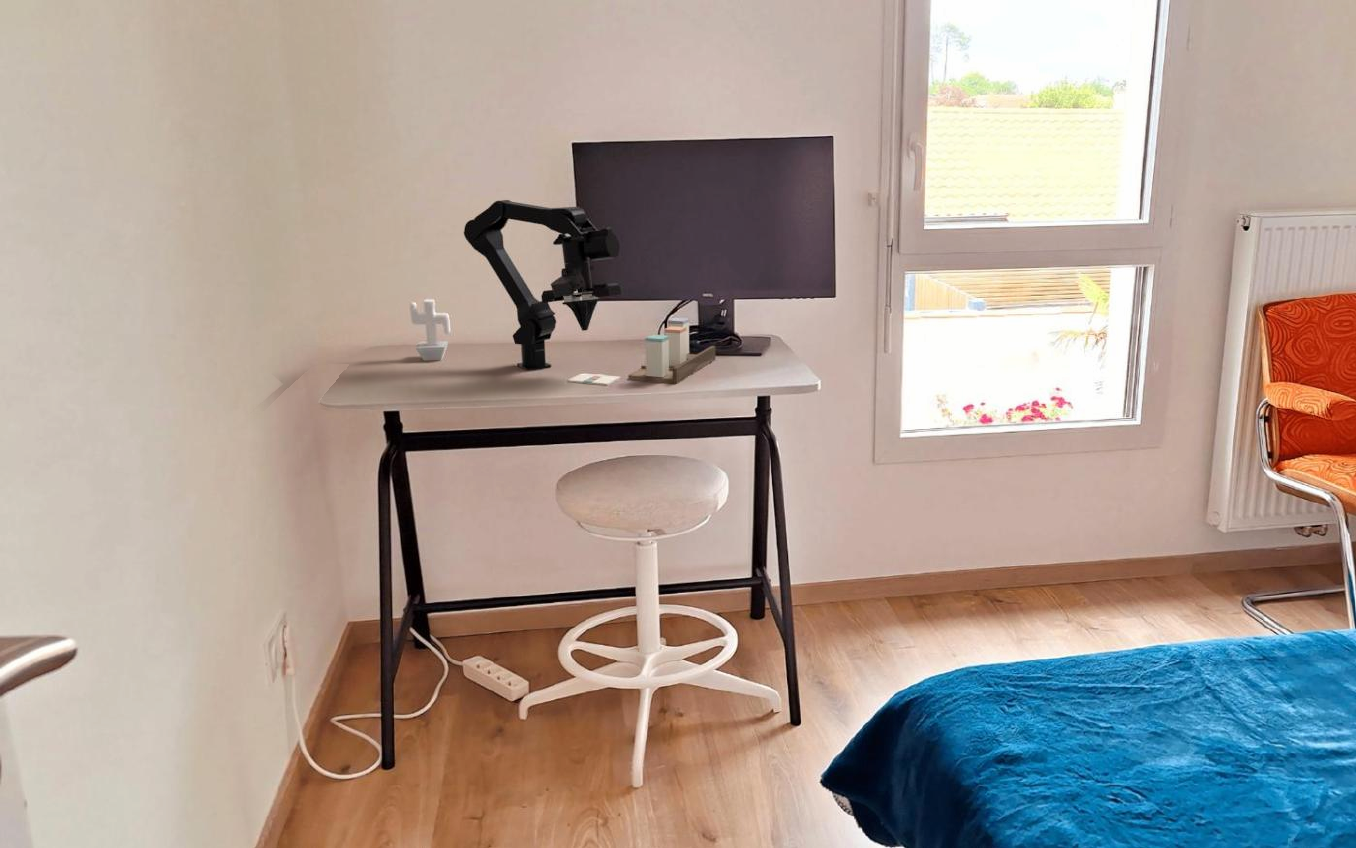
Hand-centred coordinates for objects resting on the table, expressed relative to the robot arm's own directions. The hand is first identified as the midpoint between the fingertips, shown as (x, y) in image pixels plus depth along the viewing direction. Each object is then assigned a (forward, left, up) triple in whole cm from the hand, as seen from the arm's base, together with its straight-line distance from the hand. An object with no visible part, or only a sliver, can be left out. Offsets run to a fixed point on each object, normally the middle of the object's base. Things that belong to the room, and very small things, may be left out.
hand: (584, 330), depth 228 cm
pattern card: (+6, -1, -10) cm, 12 cm away
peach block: (+8, +20, -9) cm, 23 cm away
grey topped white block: (-1, +27, -9) cm, 28 cm away
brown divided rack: (+8, +20, -10) cm, 23 cm away
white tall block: (+14, +11, -9) cm, 20 cm away
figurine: (-37, -24, -11) cm, 45 cm away
